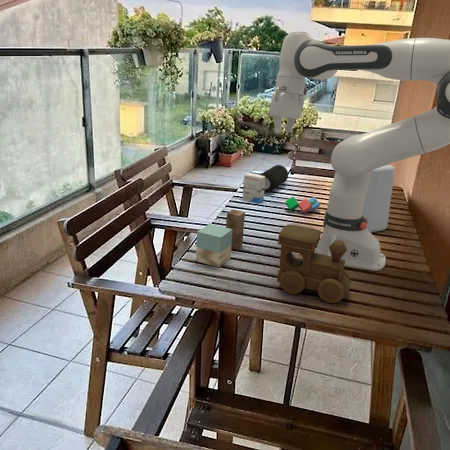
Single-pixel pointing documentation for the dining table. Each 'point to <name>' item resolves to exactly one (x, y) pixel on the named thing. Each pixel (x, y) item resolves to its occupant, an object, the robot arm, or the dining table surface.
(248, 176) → the ink box
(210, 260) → the lower block
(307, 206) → the building blocks
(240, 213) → the walnut post
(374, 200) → the plastic bottle
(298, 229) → the wooden toy train
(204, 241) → the upper block
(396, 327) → the dining table surface
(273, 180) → the portable speaker
